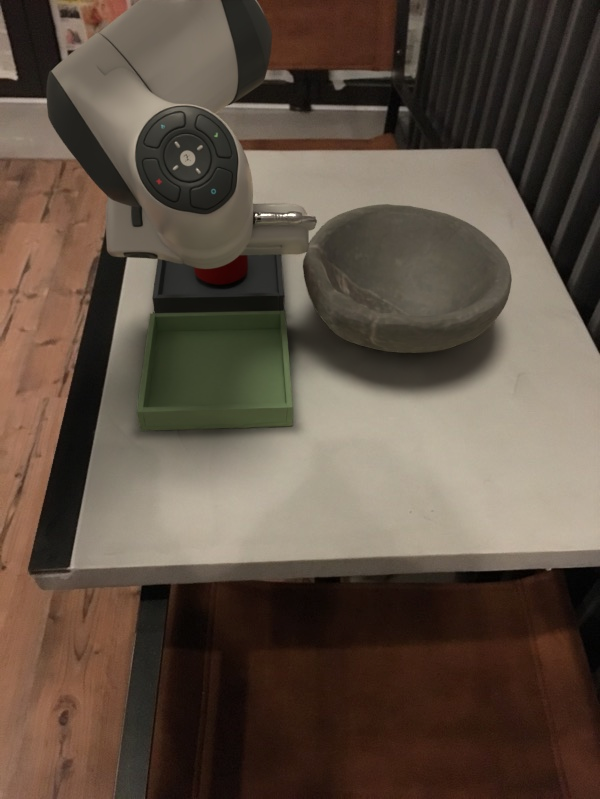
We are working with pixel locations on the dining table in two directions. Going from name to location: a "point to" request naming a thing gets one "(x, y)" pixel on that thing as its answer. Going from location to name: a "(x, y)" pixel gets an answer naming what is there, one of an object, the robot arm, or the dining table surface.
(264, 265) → the slate tray
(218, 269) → the beverage can
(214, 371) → the sage tray
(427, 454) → the dining table surface
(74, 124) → the robot arm
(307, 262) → the bowl
